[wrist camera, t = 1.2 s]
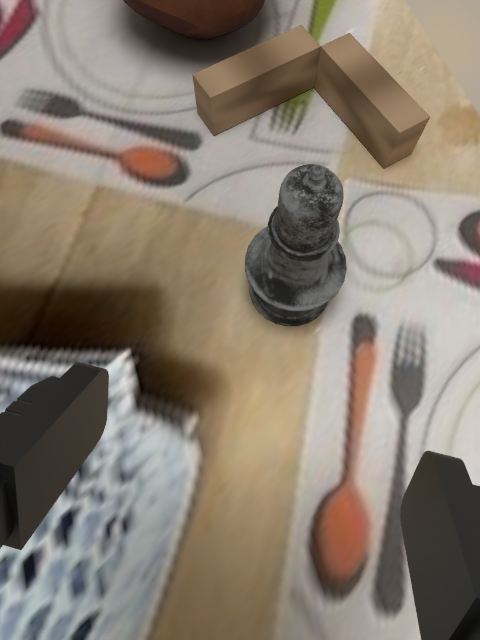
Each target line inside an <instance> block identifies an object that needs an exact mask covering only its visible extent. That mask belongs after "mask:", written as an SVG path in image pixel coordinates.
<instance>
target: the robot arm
mask: <svg viewBox="0 0 480 640" xmlns="http://www.w3.org/2000/svg"><path fill="white" fill-rule="evenodd" d="M108 381H109V375H108V371H107V370H106V369H103V368H99V367H95V366H91V365H87V364H83V363H79V362H78V363H75V364H74V365H73V366H72V367H71V368H70V369H69V370H68V371H67V372H66V373H65V374H64V375H63V376H62V377H61V378H57V377H53V376H51V377H49V378H47V379H45V380H43V381H40V382H38V383H36V384H34V385H32V386H31V387H30V388H28V389H27V390H26V391H25V392H24V393H23V394H22V395H21V396H20V397H18V398H17V401H14V402H13V403H12V404H11V405H10V406H8V407H7V408H6V409H5V412H2V413H1V414H0V548H1V547H2V545H6V546H9V547H12V548H16V549H19V550H22V548H23V547H24V545H25V544H26V543H27V541H28V540H29V538H30V537H31V536H32V534H33V533H34V531H35V530H36V529H37V527H38V526H39V524H40V523H41V522H42V520H43V519H44V517H45V516H46V514H47V513H48V512H49V510H50V509H51V507H52V506H53V505H54V503H55V502H56V500H57V499H58V498H59V496H60V495H61V493H62V492H63V491H64V489H65V488H66V486H67V485H68V484H69V482H70V481H71V479H72V478H73V477H74V475H75V474H76V472H77V471H78V470H79V468H80V467H81V465H82V464H83V462H84V461H85V460H86V458H87V457H88V455H89V454H90V453H91V451H92V450H93V448H94V447H95V446H96V444H97V443H98V441H99V440H100V438H101V436H102V434H103V431H104V429H105V425H106V421H107V406H108ZM400 519H401V527H402V533H403V538H404V544H405V550H406V555H407V561H408V567H409V572H410V578H411V584H412V589H413V595H414V601H415V606H416V612H417V618H418V623H419V629H420V635H421V640H480V486H477V485H473V484H472V482H471V480H470V477H469V475H468V472H467V470H466V467H465V464H464V462H463V461H462V460H461V459H459V458H455V457H451V456H447V455H443V454H439V453H435V452H431V451H426V452H425V453H424V454H423V455H422V457H421V459H420V462H419V464H418V466H417V468H416V470H415V472H414V475H413V477H412V479H411V481H410V483H409V486H408V488H407V490H406V492H405V494H404V497H403V500H402V504H401V513H400Z"/></svg>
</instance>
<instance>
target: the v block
mask: <svg viewBox="0 0 480 640" xmlns="http://www.w3.org/2000/svg"><path fill="white" fill-rule="evenodd" d="M193 81H194V89H195V96H196V104H197V111H198V115H199V116H200V117H201V119H202V120H203V121H204V123H205V124H206V126H207V127H208V128H209V130H210V131H211V132H212V134H213V135H214V136H215V135H217V134H219V133H221V132H223V131H225V130H227V129H229V128H231V127H233V126H235V125H238V124H240V123H242V122H244V121H246V120H248V119H250V118H252V117H254V116H256V115H258V114H260V113H262V112H264V111H266V110H268V109H270V108H273V107H275V106H277V105H279V104H281V103H283V102H285V101H287V100H289V99H291V98H293V97H295V96H297V95H299V94H301V93H303V92H305V91H308V90H310V89H312V88H315V90H316V91H317V92H318V93H319V94H320V95H321V97H322V98H323V99H324V100H325V101H326V102H327V103H328V105H329V106H330V107H331V108H332V109H333V110H334V112H335V113H336V114H337V115H338V116H339V117H340V118H341V120H342V121H343V122H344V123H345V124H346V125H347V127H348V128H349V129H350V130H351V131H352V132H353V134H354V135H355V136H356V137H357V138H358V139H359V140H360V142H361V143H362V144H363V145H364V146H365V147H366V149H367V150H368V151H369V152H370V153H371V154H372V155H373V157H374V158H375V159H376V160H377V161H378V162H379V164H380V165H381V166H382V167H383V168H386V167H388V166H389V165H391V164H393V163H395V162H397V161H399V160H401V159H403V158H404V157H406V156H408V155H410V154H411V153H412V151H413V150H414V148H415V146H416V144H417V142H418V140H419V138H420V136H421V134H422V132H423V130H424V128H425V126H426V124H427V122H428V120H429V118H430V116H429V115H428V114H427V113H426V112H425V111H424V110H423V109H422V108H421V107H420V106H419V105H418V104H417V103H416V102H415V101H414V100H413V99H412V97H411V96H410V95H409V94H408V93H407V92H406V91H405V90H404V89H403V88H402V87H401V86H400V85H399V84H398V83H397V82H396V81H395V80H394V79H393V78H392V77H391V76H390V74H389V73H388V72H387V71H386V70H385V69H384V68H383V67H382V66H381V65H380V64H379V63H378V62H377V61H376V60H375V59H374V58H373V57H372V56H371V55H370V54H369V53H368V51H367V50H366V49H365V48H364V47H363V46H362V45H361V44H360V43H359V42H358V41H357V40H356V39H355V38H354V37H353V36H352V35H351V34H350V33H348V34H346V35H344V36H342V37H340V38H337V39H335V40H333V41H331V42H329V43H327V44H325V45H322V46H320V45H319V44H318V43H317V41H316V40H315V39H314V38H313V37H312V36H311V35H310V34H309V33H308V32H307V31H306V29H305V28H304V27H303V26H302V25H300V26H298V27H295V28H293V29H291V30H289V31H287V32H284V33H282V34H280V35H278V36H276V37H273V38H271V39H269V40H267V41H265V42H262V43H260V44H258V45H256V46H254V47H251V48H249V49H247V50H245V51H243V52H240V53H238V54H236V55H234V56H232V57H230V58H227V59H225V60H223V61H221V62H219V63H216V64H214V65H212V66H210V67H208V68H205V69H203V70H201V71H199V72H197V73H194V74H193Z"/></svg>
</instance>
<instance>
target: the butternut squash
mask: <svg viewBox="0 0 480 640" xmlns="http://www.w3.org/2000/svg"><path fill="white" fill-rule="evenodd" d="M124 1H125V2H126V3H127V4H128V5H129V6H130V7H131V8H132V9H133V10H135V11H136V12H137V13H139V14H140V15H142V16H144V17H145V18H147V19H149V20H152V21H154V22H156V23H158V24H160V25H162V26H164V27H166V28H168V29H170V30H173V31H175V32H178V33H180V34H182V35H185V36H187V37H190V38H197V39H205V40H209V39H211V38H214V37H217V36H221V35H225V34H228V33H230V32H233V31H235V30H237V29H240V28H242V27H244V26H245V25H247V24H248V23H249V22H250V21H252V20H253V19H254V18H255V17H256V15H257V14H258V12H259V11H260V9H261V8H262V6H263V3H264V0H124Z"/></svg>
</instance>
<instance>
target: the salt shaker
mask: <svg viewBox="0 0 480 640" xmlns="http://www.w3.org/2000/svg"><path fill="white" fill-rule="evenodd" d="M342 203H343V187H342V184H341V182H340V180H339V179H338V177H337V176H336V175H335V174H334V173H333V172H332V171H330V170H329V169H328V168H326V167H323V166H321V165H316V164H307V165H303V166H299V167H297V168H295V169H293V170H292V171H291V172H290V173H288V174H287V176H286V177H285V179H284V180H283V182H282V184H281V188H280V192H279V201H278V206H277V207H276V208H275V209H274V211H273V212H272V214H271V216H270V218H269V222H268V226H267V227H265V228H264V229H262V230H261V231H260V232H259V233H258V234H257V235H256V236H255V237H254V238H253V240H252V241H251V243H250V245H249V246H248V249H247V253H246V256H245V272H246V275H247V278H248V282H249V284H250V296H251V299H252V302H253V304H254V306H255V307H256V309H257V310H258V312H259V313H260V314H262V315H263V316H264V317H265V318H266V319H268V320H270V321H272V322H274V323H276V324H280V325H284V326H299V325H302V324H306V323H309V322H310V321H312V320H314V319H316V318H317V317H318V316H319V315H320V314H321V313H322V312H323V311H324V309H325V307H326V305H327V303H328V302H329V301H330V300H331V299H332V298H333V297H334V296H335V295H336V294H337V293H338V291H339V289H340V288H341V286H342V284H343V282H344V279H345V274H346V269H347V268H346V258H345V255H344V252H343V249H342V247H341V245H340V244H339V242H338V238H339V233H340V230H339V223H338V220H337V218H338V215H339V212H340V209H341V207H342Z"/></svg>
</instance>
